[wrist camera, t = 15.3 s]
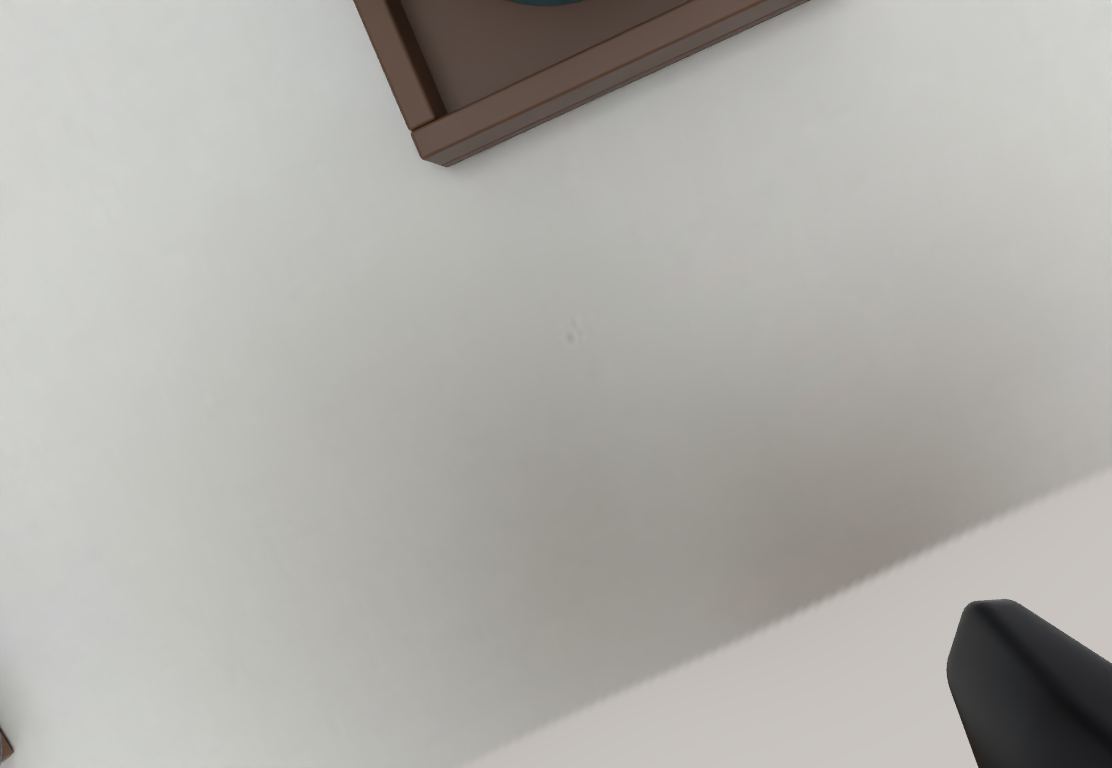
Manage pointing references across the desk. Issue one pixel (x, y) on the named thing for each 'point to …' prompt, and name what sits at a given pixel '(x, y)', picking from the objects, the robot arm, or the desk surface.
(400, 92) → the tray
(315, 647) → the desk surface
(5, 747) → the riser
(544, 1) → the teal bottle
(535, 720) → the desk surface
